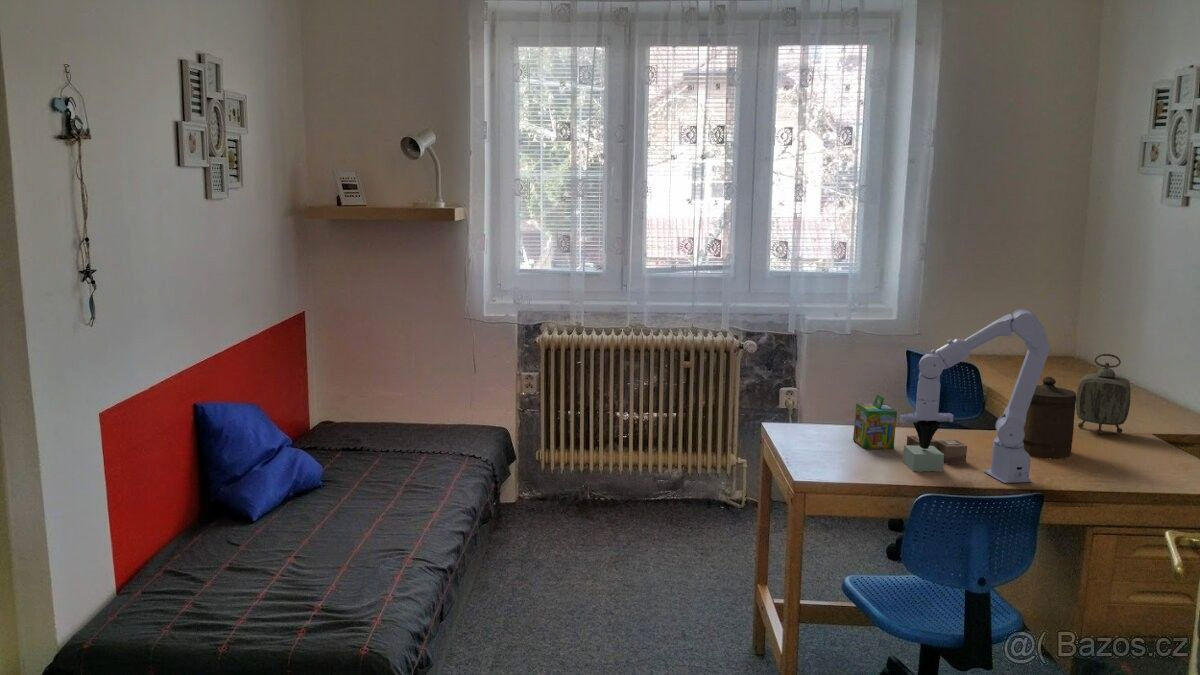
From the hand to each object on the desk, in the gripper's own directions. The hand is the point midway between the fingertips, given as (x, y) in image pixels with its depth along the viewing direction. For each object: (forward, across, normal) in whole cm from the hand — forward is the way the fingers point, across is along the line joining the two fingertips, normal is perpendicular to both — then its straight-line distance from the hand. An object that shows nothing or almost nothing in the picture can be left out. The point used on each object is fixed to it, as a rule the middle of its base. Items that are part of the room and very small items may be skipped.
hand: (924, 447), depth 240 cm
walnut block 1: (+6, -5, -10) cm, 13 cm away
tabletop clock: (+6, -73, -25) cm, 77 cm away
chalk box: (+6, +4, -21) cm, 22 cm away
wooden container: (+6, -42, -9) cm, 43 cm away
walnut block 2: (+6, -11, -5) cm, 13 cm away
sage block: (+6, 0, 0) cm, 6 cm away
